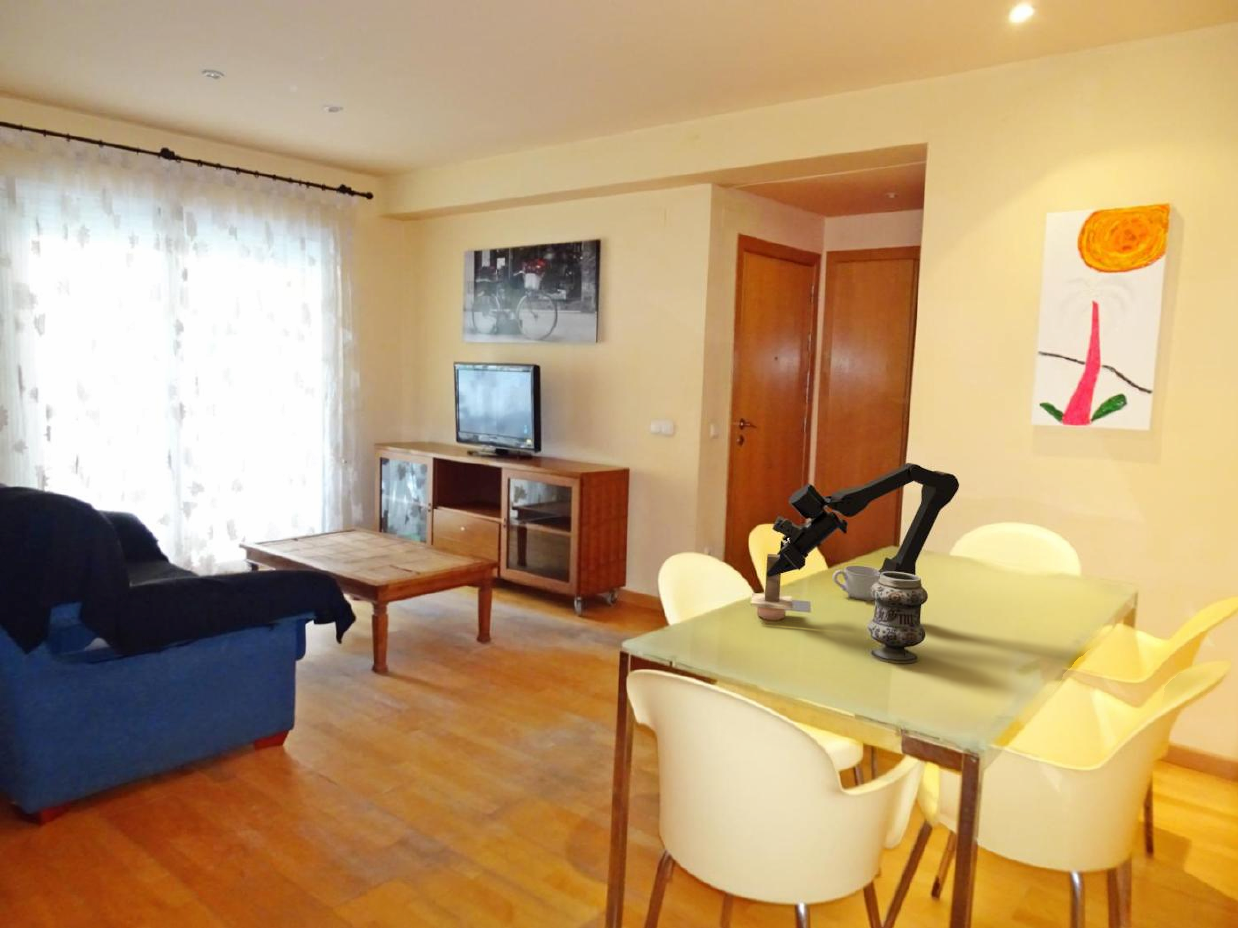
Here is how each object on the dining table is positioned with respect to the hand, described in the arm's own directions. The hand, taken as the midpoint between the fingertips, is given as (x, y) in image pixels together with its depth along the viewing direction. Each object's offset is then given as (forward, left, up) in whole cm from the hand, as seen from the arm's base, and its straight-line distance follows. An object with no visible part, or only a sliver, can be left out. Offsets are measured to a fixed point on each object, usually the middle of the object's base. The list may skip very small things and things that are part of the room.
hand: (767, 572), depth 215 cm
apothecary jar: (-31, -18, -12) cm, 37 cm away
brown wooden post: (-1, -1, -8) cm, 8 cm away
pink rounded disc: (-1, -1, -12) cm, 12 cm away
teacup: (+18, -33, -12) cm, 40 cm away
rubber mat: (+10, -10, -12) cm, 19 cm away
